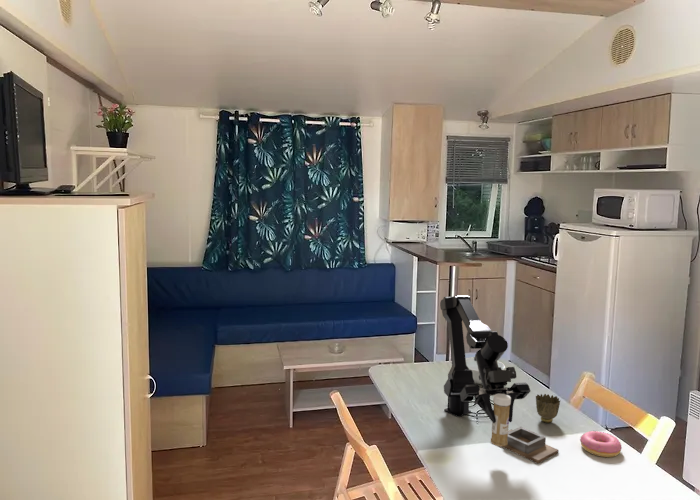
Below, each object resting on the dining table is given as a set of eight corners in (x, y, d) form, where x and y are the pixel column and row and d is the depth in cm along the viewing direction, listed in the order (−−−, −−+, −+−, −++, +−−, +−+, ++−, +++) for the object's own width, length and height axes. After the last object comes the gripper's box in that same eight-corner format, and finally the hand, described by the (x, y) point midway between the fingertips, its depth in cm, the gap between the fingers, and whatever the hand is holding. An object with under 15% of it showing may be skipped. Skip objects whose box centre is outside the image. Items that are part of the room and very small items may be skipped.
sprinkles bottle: (507, 448, 145) (510, 400, 143) (490, 445, 146) (493, 397, 145) (507, 440, 149) (511, 394, 148) (490, 437, 151) (494, 391, 149)
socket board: (490, 441, 160) (491, 430, 160) (511, 432, 166) (511, 421, 166) (537, 463, 148) (538, 451, 147) (558, 453, 154) (559, 441, 153)
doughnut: (629, 458, 152) (630, 444, 151) (594, 460, 150) (595, 446, 150) (605, 440, 162) (606, 427, 162) (572, 442, 161) (573, 429, 160)
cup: (560, 427, 170) (562, 403, 169) (536, 425, 172) (537, 401, 171) (556, 417, 177) (558, 394, 176) (533, 415, 179) (534, 392, 178)
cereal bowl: (452, 382, 208) (453, 365, 207) (469, 370, 222) (470, 354, 221) (495, 392, 198) (496, 374, 198) (510, 379, 212) (511, 362, 211)
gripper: (465, 357, 147) (478, 412, 138) (529, 355, 150) (546, 409, 141) (454, 374, 156) (466, 427, 147) (515, 372, 159) (530, 424, 149)
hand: (502, 422), depth 146 cm, fingers closed on sprinkles bottle, 4 cm apart
